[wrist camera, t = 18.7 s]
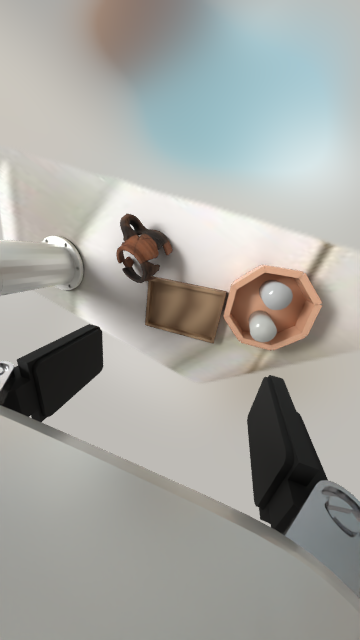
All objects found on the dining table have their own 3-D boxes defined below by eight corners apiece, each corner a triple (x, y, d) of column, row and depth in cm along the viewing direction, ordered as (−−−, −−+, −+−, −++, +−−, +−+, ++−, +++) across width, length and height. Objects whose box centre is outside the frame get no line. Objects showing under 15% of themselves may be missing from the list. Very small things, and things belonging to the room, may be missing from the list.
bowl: (219, 328, 38) (218, 336, 34) (237, 260, 32) (237, 261, 28) (290, 345, 35) (297, 357, 31) (322, 274, 29) (335, 277, 26)
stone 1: (262, 277, 31) (268, 281, 26) (287, 281, 31) (297, 287, 26) (255, 299, 33) (259, 306, 28) (278, 303, 32) (286, 312, 27)
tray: (148, 322, 42) (145, 325, 41) (152, 276, 38) (148, 277, 36) (214, 339, 39) (213, 343, 37) (226, 291, 35) (226, 293, 33)
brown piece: (183, 262, 36) (157, 283, 31) (154, 271, 42) (130, 289, 38) (153, 198, 30) (117, 212, 26) (126, 220, 37) (94, 233, 33)
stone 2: (249, 309, 34) (251, 319, 29) (272, 310, 33) (278, 321, 28) (247, 328, 35) (248, 340, 30) (269, 330, 34) (274, 343, 29)
